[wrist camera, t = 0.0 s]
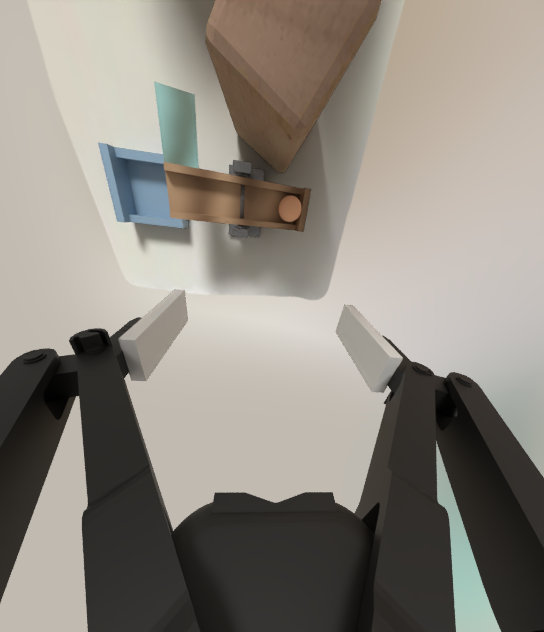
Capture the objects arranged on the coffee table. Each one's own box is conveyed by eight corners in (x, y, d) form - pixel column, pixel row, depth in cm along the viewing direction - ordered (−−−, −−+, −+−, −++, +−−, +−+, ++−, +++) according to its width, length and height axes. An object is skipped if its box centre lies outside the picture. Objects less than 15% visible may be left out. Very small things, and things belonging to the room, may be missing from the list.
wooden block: (282, 176, 34) (301, 140, 17) (233, 132, 31) (196, 32, 14) (319, 115, 31) (394, -12, 13) (269, 58, 28) (279, -208, 10)
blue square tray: (118, 151, 32) (98, 142, 28) (182, 160, 33) (172, 153, 29) (132, 220, 37) (117, 221, 33) (188, 227, 38) (179, 228, 34)
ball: (278, 194, 30) (282, 193, 27) (300, 197, 31) (306, 196, 28) (275, 219, 32) (279, 221, 29) (296, 222, 33) (301, 223, 30)
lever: (171, 219, 28) (169, 221, 25) (155, 86, 21) (150, 68, 18) (293, 231, 35) (303, 233, 32) (308, 135, 29) (322, 127, 26)
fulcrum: (229, 233, 39) (220, 239, 30) (230, 165, 33) (219, 151, 25) (259, 237, 39) (258, 243, 31) (264, 170, 34) (264, 158, 26)
